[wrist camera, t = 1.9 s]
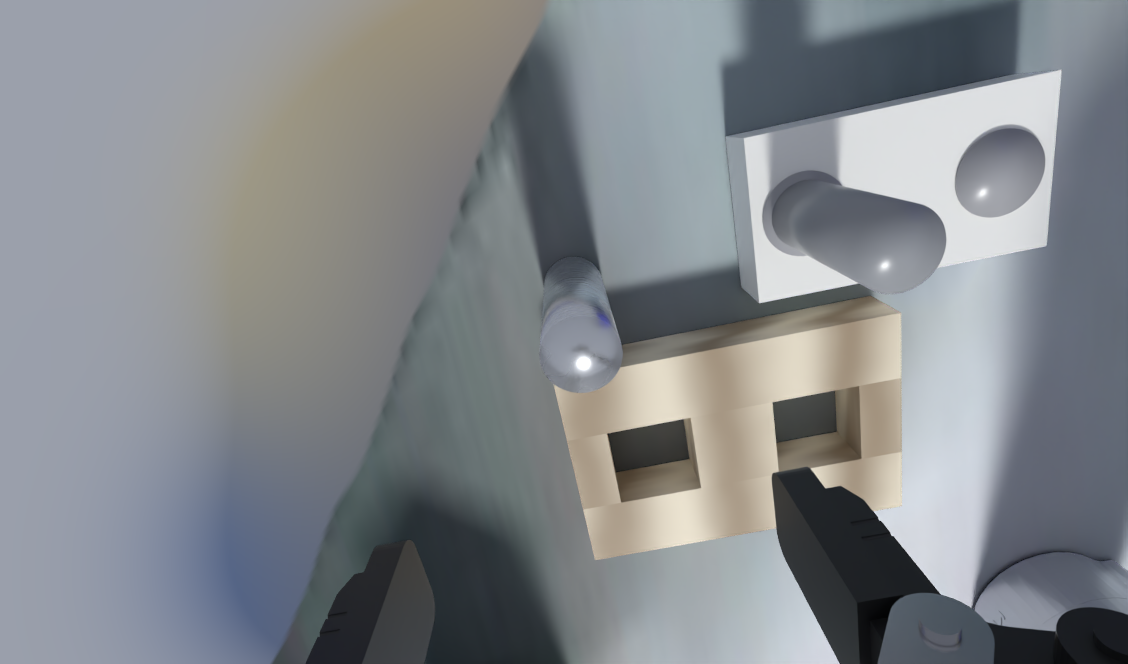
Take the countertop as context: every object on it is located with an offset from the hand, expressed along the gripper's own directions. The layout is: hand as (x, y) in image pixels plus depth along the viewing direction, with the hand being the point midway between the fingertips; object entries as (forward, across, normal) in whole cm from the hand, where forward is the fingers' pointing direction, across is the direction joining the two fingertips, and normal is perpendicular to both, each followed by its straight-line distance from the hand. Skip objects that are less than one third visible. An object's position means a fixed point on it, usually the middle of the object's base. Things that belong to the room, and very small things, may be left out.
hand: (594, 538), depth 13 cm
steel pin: (+20, 0, 0) cm, 20 cm away
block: (+20, -16, -2) cm, 26 cm away
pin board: (+20, -7, +10) cm, 23 cm away
